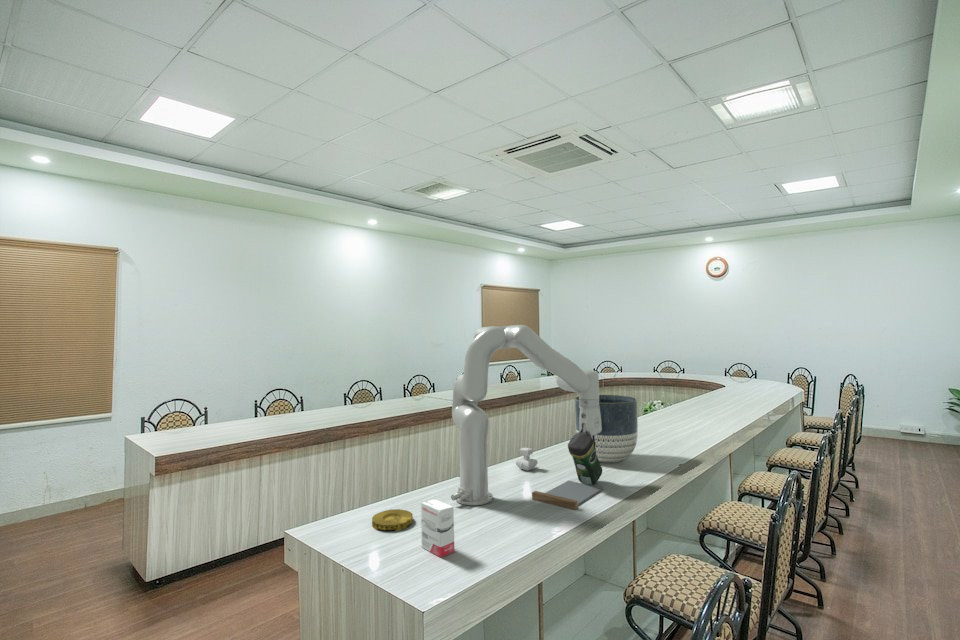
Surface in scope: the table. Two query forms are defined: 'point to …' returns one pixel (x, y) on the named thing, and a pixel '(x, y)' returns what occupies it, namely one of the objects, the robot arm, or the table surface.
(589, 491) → the mat
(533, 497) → the rail
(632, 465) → the table surface
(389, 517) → the golden flat disc
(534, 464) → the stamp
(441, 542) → the ink box
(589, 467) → the coffee jar
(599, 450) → the planter
